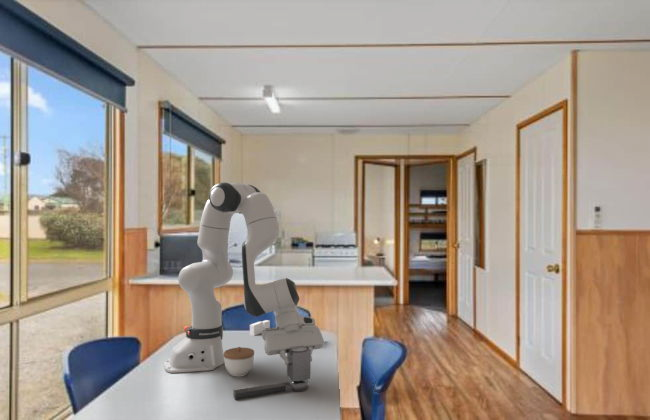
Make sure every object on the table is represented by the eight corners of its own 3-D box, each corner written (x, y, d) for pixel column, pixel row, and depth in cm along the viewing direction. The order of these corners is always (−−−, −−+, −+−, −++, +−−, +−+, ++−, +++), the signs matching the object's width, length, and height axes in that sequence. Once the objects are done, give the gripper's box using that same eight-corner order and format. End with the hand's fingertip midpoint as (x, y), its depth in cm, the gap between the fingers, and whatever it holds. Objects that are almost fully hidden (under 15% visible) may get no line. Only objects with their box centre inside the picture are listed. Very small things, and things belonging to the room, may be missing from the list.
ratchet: (236, 402, 137) (236, 385, 137) (232, 394, 143) (232, 378, 143) (311, 390, 147) (311, 374, 147) (304, 383, 152) (304, 368, 152)
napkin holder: (249, 338, 208) (249, 326, 208) (243, 332, 218) (243, 320, 218) (280, 335, 214) (280, 323, 214) (272, 329, 224) (272, 317, 224)
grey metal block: (293, 381, 144) (293, 351, 144) (287, 375, 150) (287, 346, 150) (310, 378, 147) (310, 349, 147) (303, 372, 152) (303, 344, 152)
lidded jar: (228, 380, 154) (228, 353, 154) (220, 371, 164) (220, 345, 164) (258, 375, 159) (258, 349, 159) (248, 366, 169) (248, 341, 169)
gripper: (262, 323, 151) (270, 362, 142) (318, 318, 159) (330, 354, 150) (258, 333, 155) (266, 371, 146) (313, 327, 163) (324, 363, 154)
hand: (299, 362), depth 148 cm, fingers closed on grey metal block, 6 cm apart
